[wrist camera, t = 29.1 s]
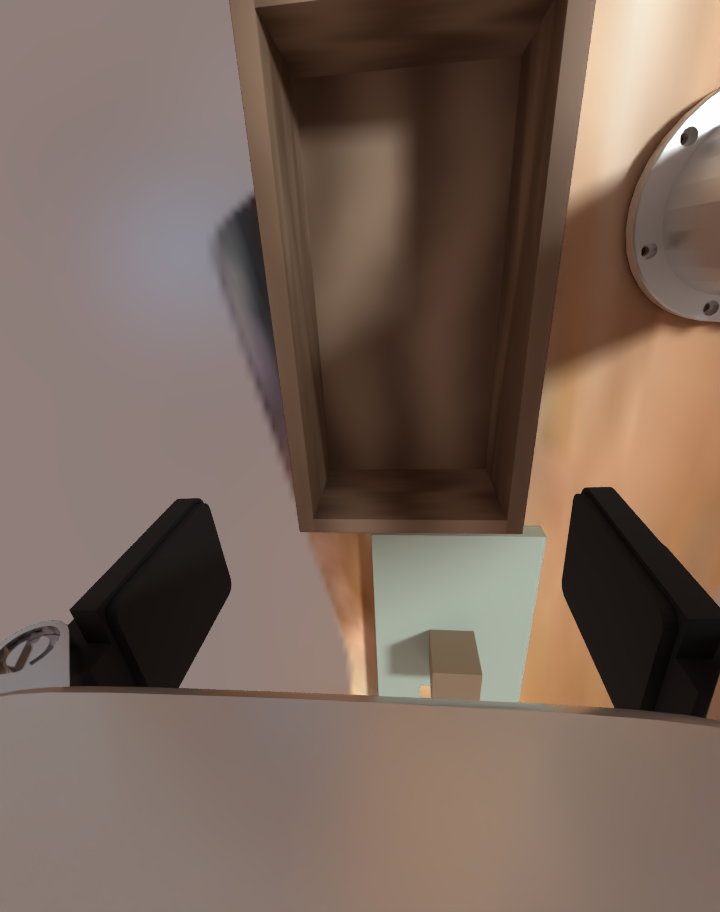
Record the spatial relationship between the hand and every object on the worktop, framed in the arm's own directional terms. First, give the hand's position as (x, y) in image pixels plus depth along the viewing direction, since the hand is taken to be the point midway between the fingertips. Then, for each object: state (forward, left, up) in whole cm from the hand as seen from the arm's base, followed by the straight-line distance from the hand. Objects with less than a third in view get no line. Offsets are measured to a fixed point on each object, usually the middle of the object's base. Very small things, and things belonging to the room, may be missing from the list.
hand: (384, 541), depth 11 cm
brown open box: (+2, -4, -21) cm, 21 cm away
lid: (-20, +18, -21) cm, 34 cm away
